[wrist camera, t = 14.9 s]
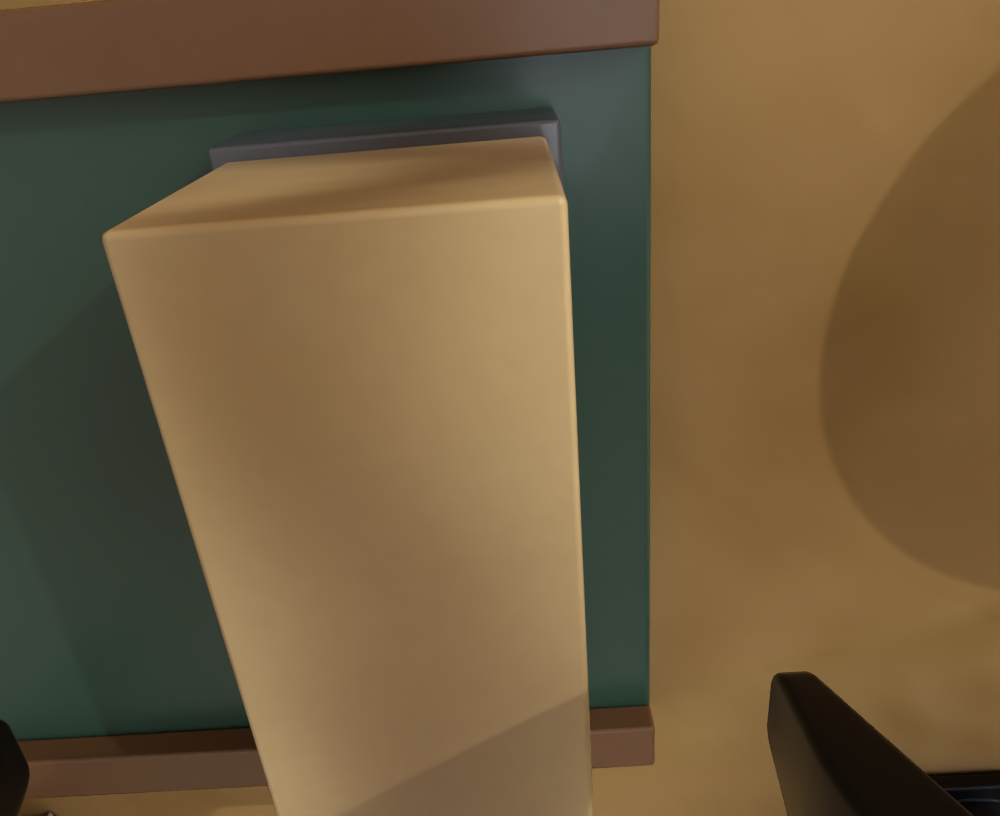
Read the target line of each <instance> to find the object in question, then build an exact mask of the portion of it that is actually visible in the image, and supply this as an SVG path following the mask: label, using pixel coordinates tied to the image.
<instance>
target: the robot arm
mask: <svg viewBox="0 0 1000 816" xmlns="http://www.w3.org/2000/svg"><path fill="white" fill-rule="evenodd" d="M767 730H768V739H769V744H770V749H771V753H772V756H773V760H774V764H775V768H776V772H777V776H778V780H779V784H780V788H781V792H782V796H783V799H784V803H785V807H786V811H787V815H788V816H1000V773H988V774H969V775H950V776H931V777H929V776H928V775H927V774H926V773H925V772H924V771H922V770H921V769H920V768H919V767H918V766H917V765H916V764H915V763H913V762H912V761H911V760H910V759H909V758H908V757H907V756H905V755H904V754H903V753H902V752H901V751H900V750H899V749H898V748H896V747H895V746H894V745H893V744H892V743H891V742H890V741H889V740H887V739H886V738H885V737H884V736H883V735H882V734H881V733H879V732H878V731H877V730H876V729H875V728H874V727H873V726H872V725H870V724H869V723H868V722H867V721H866V720H865V719H864V718H863V717H861V716H860V715H859V714H858V713H857V712H856V711H855V710H854V709H852V708H851V707H850V706H849V705H848V704H847V703H846V702H844V701H843V700H842V699H841V698H840V697H839V696H838V695H837V694H835V693H834V692H833V691H832V690H831V689H830V688H829V687H828V686H826V685H825V684H824V683H823V682H822V681H821V680H820V679H819V678H817V677H816V676H815V675H813V674H812V673H810V672H805V671H804V672H786V673H778V674H776V675H774V677H773V679H772V682H771V691H770V701H769V712H768V722H767ZM29 776H30V771H29V766H28V763H27V761H26V759H25V757H24V755H23V753H22V750H21V748H20V746H19V744H18V742H17V740H16V738H15V736H14V734H13V732H12V730H11V728H10V726H9V725H8V724H7V723H6V722H5V721H3V720H0V816H18V814H19V811H20V808H21V805H22V802H23V800H24V797H25V794H26V791H27V788H28V784H29Z"/></svg>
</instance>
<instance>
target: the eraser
mask: <svg viewBox="0 0 1000 816" xmlns="http://www.w3.org/2000/svg"><path fill="white" fill-rule="evenodd" d="M208 153H209V158H210V162H211V166H212V172H210V173H208V174H207V175H205V176H203V177H201V178H199V179H198V180H196V181H194V182H192V183H191V184H189V185H187V186H185V187H184V188H182V189H180V190H178V191H177V192H175V193H173V194H171V195H170V196H168V197H166V198H164V199H163V200H161V201H159V202H157V203H156V204H154V205H152V206H150V207H149V208H147V209H145V210H143V211H142V212H140V213H138V214H136V215H135V216H133V217H131V218H129V219H128V220H126V221H124V222H122V223H121V224H119V225H117V226H115V227H114V228H112V229H110V230H108V231H107V232H105V233H103V237H102V242H103V245H104V249H105V252H106V255H107V259H108V262H109V265H110V268H111V272H112V275H113V278H114V281H115V285H116V288H117V291H118V295H119V298H120V301H121V304H122V308H123V311H124V314H125V318H126V321H127V324H128V327H129V331H130V334H131V337H132V340H133V344H134V347H135V350H136V354H137V357H138V360H139V363H140V367H141V370H142V373H143V376H144V380H145V383H146V386H147V390H148V393H149V396H150V399H151V403H152V406H153V409H154V413H155V416H156V419H157V422H158V426H159V429H160V432H161V435H162V439H163V442H164V445H165V449H166V452H167V455H168V458H169V462H170V465H171V468H172V471H173V475H174V478H175V481H176V485H177V488H178V491H179V494H180V498H181V501H182V504H183V508H184V511H185V514H186V517H187V521H188V524H189V527H190V530H191V534H192V537H193V540H194V544H195V547H196V550H197V553H198V557H199V560H200V563H201V567H202V570H203V573H204V576H205V580H206V583H207V586H208V589H209V593H210V596H211V599H212V603H213V606H214V609H215V612H216V616H217V619H218V622H219V625H220V629H221V632H222V635H223V639H224V642H225V645H226V648H227V652H228V655H229V658H230V662H231V665H232V668H233V671H234V675H235V678H236V681H237V684H238V688H239V691H240V694H241V698H242V701H243V704H244V707H245V711H246V714H247V717H248V720H249V724H250V727H251V730H252V734H253V737H254V740H255V743H256V747H257V750H258V753H259V757H260V760H261V763H262V766H263V770H264V773H265V776H266V779H267V783H268V786H269V789H270V793H271V796H272V799H273V802H274V806H275V809H276V812H277V816H594V809H593V785H592V762H591V739H590V715H589V692H588V668H587V645H586V622H585V598H584V575H583V551H582V528H581V505H580V481H579V458H578V434H577V411H576V388H575V364H574V341H573V317H572V294H571V271H570V247H569V224H568V203H567V200H566V197H565V194H564V187H563V165H562V142H561V122H560V120H559V118H558V116H557V114H556V112H555V110H554V108H551V107H547V108H535V109H523V110H511V111H500V112H488V113H476V114H464V115H453V116H441V117H429V118H417V119H406V120H394V121H382V122H370V123H358V124H347V125H335V126H323V127H311V128H300V129H288V130H276V131H264V132H253V133H241V134H238V135H236V136H234V137H232V138H230V139H228V140H226V141H224V142H222V143H220V144H218V145H215V146H213V147H211V148H210V149H209V151H208Z"/></svg>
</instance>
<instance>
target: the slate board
mask: <svg viewBox="0 0 1000 816" xmlns="http://www.w3.org/2000/svg"><path fill="white" fill-rule="evenodd" d="M658 40H659V0H106V1H95V2H84V3H73V4H63V5H52V6H41V7H30V8H19V9H9V10H0V720H3V721H5V722H6V723H7V724H8V725H9V726H10V728H11V730H12V732H13V734H14V736H15V738H16V740H17V742H18V744H19V746H20V748H21V750H22V753H23V755H24V757H25V759H26V761H27V763H28V766H29V771H30V776H29V784H28V788H27V791H26V794H25V797H24V799H31V798H50V797H68V796H87V795H105V794H124V793H143V792H161V791H180V790H198V789H217V788H236V787H254V786H268V783H267V779H266V776H265V773H264V770H263V766H262V763H261V760H260V757H259V753H258V750H257V747H256V743H255V740H254V737H253V734H252V730H251V727H250V724H249V720H248V717H247V714H246V711H245V707H244V704H243V701H242V698H241V694H240V691H239V688H238V684H237V681H236V678H235V675H234V671H233V668H232V665H231V662H230V658H229V655H228V652H227V648H226V645H225V642H224V639H223V635H222V632H221V629H220V625H219V622H218V619H217V616H216V612H215V609H214V606H213V603H212V599H211V596H210V593H209V589H208V586H207V583H206V580H205V576H204V573H203V570H202V567H201V563H200V560H199V557H198V553H197V550H196V547H195V544H194V540H193V537H192V534H191V530H190V527H189V524H188V521H187V517H186V514H185V511H184V508H183V504H182V501H181V498H180V494H179V491H178V488H177V485H176V481H175V478H174V475H173V471H172V468H171V465H170V462H169V458H168V455H167V452H166V449H165V445H164V442H163V439H162V435H161V432H160V429H159V426H158V422H157V419H156V416H155V413H154V409H153V406H152V403H151V399H150V396H149V393H148V390H147V386H146V383H145V380H144V376H143V373H142V370H141V367H140V363H139V360H138V357H137V354H136V350H135V347H134V344H133V340H132V337H131V334H130V331H129V327H128V324H127V321H126V318H125V314H124V311H123V308H122V304H121V301H120V298H119V295H118V291H117V288H116V285H115V281H114V278H113V275H112V272H111V268H110V265H109V262H108V259H107V255H106V252H105V249H104V245H103V242H102V237H103V233H105V232H107V231H108V230H110V229H112V228H114V227H115V226H117V225H119V224H121V223H122V222H124V221H126V220H128V219H129V218H131V217H133V216H135V215H136V214H138V213H140V212H142V211H143V210H145V209H147V208H149V207H150V206H152V205H154V204H156V203H157V202H159V201H161V200H163V199H164V198H166V197H168V196H170V195H171V194H173V193H175V192H177V191H178V190H180V189H182V188H184V187H185V186H187V185H189V184H191V183H192V182H194V181H196V180H198V179H199V178H201V177H203V176H205V175H207V174H208V173H210V172H212V166H211V162H210V158H209V153H208V151H209V149H210V148H211V147H213V146H215V145H218V144H220V143H222V142H224V141H226V140H228V139H230V138H232V137H234V136H236V135H238V134H241V133H253V132H264V131H276V130H288V129H300V128H311V127H323V126H335V125H347V124H358V123H370V122H382V121H394V120H406V119H417V118H429V117H441V116H453V115H464V114H476V113H488V112H500V111H511V110H523V109H535V108H547V107H551V108H554V110H555V112H556V114H557V116H558V118H559V120H560V122H561V142H562V165H563V187H564V194H565V197H566V200H567V203H568V224H569V247H570V271H571V294H572V317H573V341H574V364H575V388H576V411H577V434H578V458H579V481H580V505H581V528H582V551H583V575H584V598H585V622H586V645H587V668H588V692H589V715H590V739H591V762H592V768H607V767H626V766H645V765H653V764H654V747H655V727H654V723H653V718H652V713H651V709H650V707H649V629H650V218H651V46H653V45H655V44H657V43H658Z"/></svg>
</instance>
